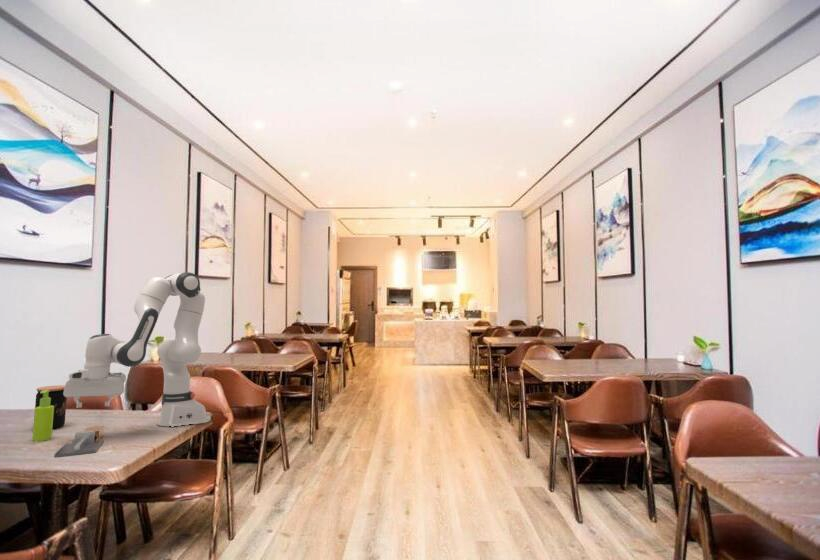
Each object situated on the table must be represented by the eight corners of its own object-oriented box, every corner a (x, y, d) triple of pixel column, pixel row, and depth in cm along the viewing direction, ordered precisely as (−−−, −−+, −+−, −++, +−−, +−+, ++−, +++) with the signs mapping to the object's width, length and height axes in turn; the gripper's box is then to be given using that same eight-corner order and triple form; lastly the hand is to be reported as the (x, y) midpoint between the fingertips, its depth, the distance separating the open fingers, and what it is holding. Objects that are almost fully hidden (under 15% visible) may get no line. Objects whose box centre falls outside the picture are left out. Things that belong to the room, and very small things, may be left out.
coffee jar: (46, 432, 181) (49, 389, 183) (26, 430, 183) (30, 388, 185) (70, 425, 192) (73, 385, 193) (51, 424, 194) (55, 384, 195)
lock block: (103, 435, 178) (103, 425, 178) (98, 441, 170) (99, 430, 170) (86, 436, 175) (87, 427, 176) (81, 442, 167) (82, 432, 168)
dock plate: (103, 442, 168) (104, 429, 168) (95, 452, 155) (96, 439, 156) (65, 446, 162) (66, 433, 163) (54, 457, 150) (55, 443, 150)
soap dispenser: (29, 443, 166) (33, 392, 167) (35, 438, 172) (39, 389, 173) (48, 441, 168) (52, 390, 170) (53, 436, 174) (57, 388, 176)
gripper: (127, 371, 182) (124, 404, 181) (68, 372, 173) (64, 407, 172) (125, 373, 176) (121, 406, 175) (64, 374, 167) (60, 410, 166)
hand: (93, 406), depth 173 cm, fingers open, 8 cm apart
